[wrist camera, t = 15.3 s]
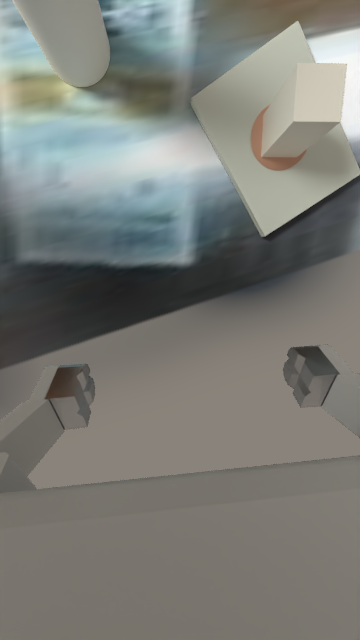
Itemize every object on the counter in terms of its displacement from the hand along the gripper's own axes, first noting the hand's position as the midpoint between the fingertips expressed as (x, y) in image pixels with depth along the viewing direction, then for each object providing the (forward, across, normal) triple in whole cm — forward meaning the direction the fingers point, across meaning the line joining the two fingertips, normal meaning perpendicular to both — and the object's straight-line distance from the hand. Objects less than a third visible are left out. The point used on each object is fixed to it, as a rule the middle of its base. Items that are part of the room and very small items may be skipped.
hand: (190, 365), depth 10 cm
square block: (+29, -14, -8) cm, 33 cm away
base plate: (+30, -14, -7) cm, 34 cm away
